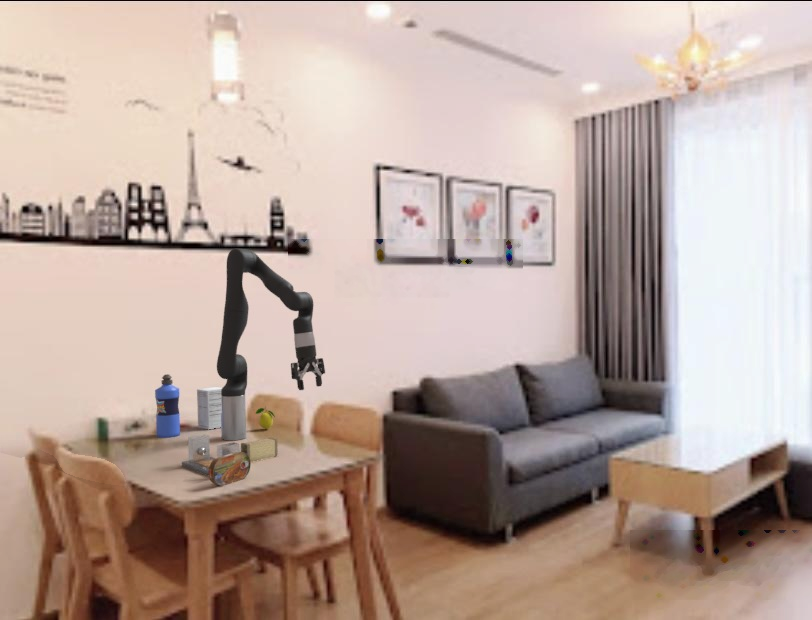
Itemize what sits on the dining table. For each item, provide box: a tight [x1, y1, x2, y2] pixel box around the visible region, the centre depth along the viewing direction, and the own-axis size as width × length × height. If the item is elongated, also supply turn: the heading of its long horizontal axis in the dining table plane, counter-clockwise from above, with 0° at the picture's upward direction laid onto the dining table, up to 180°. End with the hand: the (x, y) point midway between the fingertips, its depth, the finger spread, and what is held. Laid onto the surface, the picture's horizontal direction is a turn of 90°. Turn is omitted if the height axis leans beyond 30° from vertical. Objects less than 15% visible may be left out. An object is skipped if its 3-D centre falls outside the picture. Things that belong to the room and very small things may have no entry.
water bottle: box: [154, 374, 181, 439], centre depth 273 cm, size 9×9×25 cm
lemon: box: [254, 407, 276, 431], centre depth 282 cm, size 7×6×10 cm
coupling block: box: [240, 437, 279, 463], centre depth 231 cm, size 12×4×6 cm, turn 135°
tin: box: [208, 451, 252, 487], centre depth 203 cm, size 15×3×8 cm, turn 148°
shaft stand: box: [181, 434, 240, 476], centre depth 218 cm, size 25×10×10 cm, turn 45°
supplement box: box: [196, 386, 223, 431], centre depth 290 cm, size 10×9×17 cm
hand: (310, 388), depth 250 cm, fingers open, 8 cm apart
